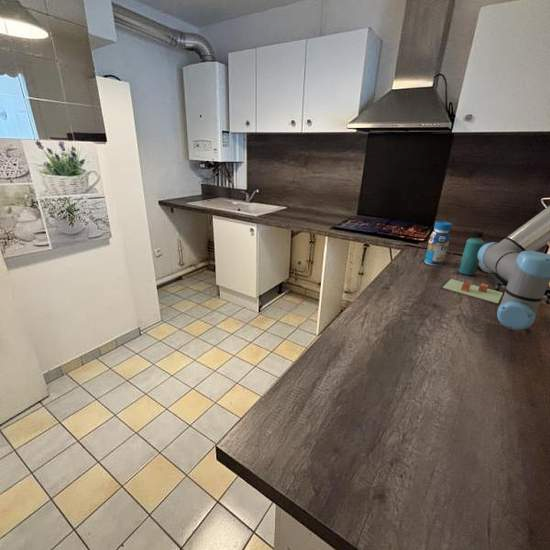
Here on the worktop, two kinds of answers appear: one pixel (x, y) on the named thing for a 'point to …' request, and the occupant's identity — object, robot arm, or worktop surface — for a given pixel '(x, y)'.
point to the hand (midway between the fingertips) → (527, 278)
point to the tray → (474, 291)
